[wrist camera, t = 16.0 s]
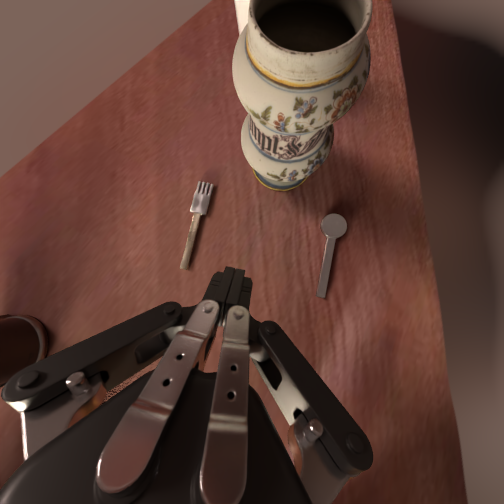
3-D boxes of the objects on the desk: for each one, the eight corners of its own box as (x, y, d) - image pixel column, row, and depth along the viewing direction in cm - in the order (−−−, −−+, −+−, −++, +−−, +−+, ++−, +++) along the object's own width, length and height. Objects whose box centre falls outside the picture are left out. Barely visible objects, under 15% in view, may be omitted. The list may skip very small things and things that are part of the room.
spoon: (332, 299, 28) (334, 300, 27) (306, 293, 28) (308, 294, 27) (346, 217, 29) (349, 216, 28) (322, 212, 29) (324, 211, 28)
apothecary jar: (291, 114, 31) (332, -98, 13) (334, 170, 30) (445, 17, 12) (230, 153, 31) (190, -10, 13) (271, 212, 30) (288, 118, 12)
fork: (192, 270, 29) (191, 270, 28) (176, 267, 29) (174, 267, 29) (214, 185, 30) (213, 183, 30) (199, 182, 31) (198, 180, 30)
